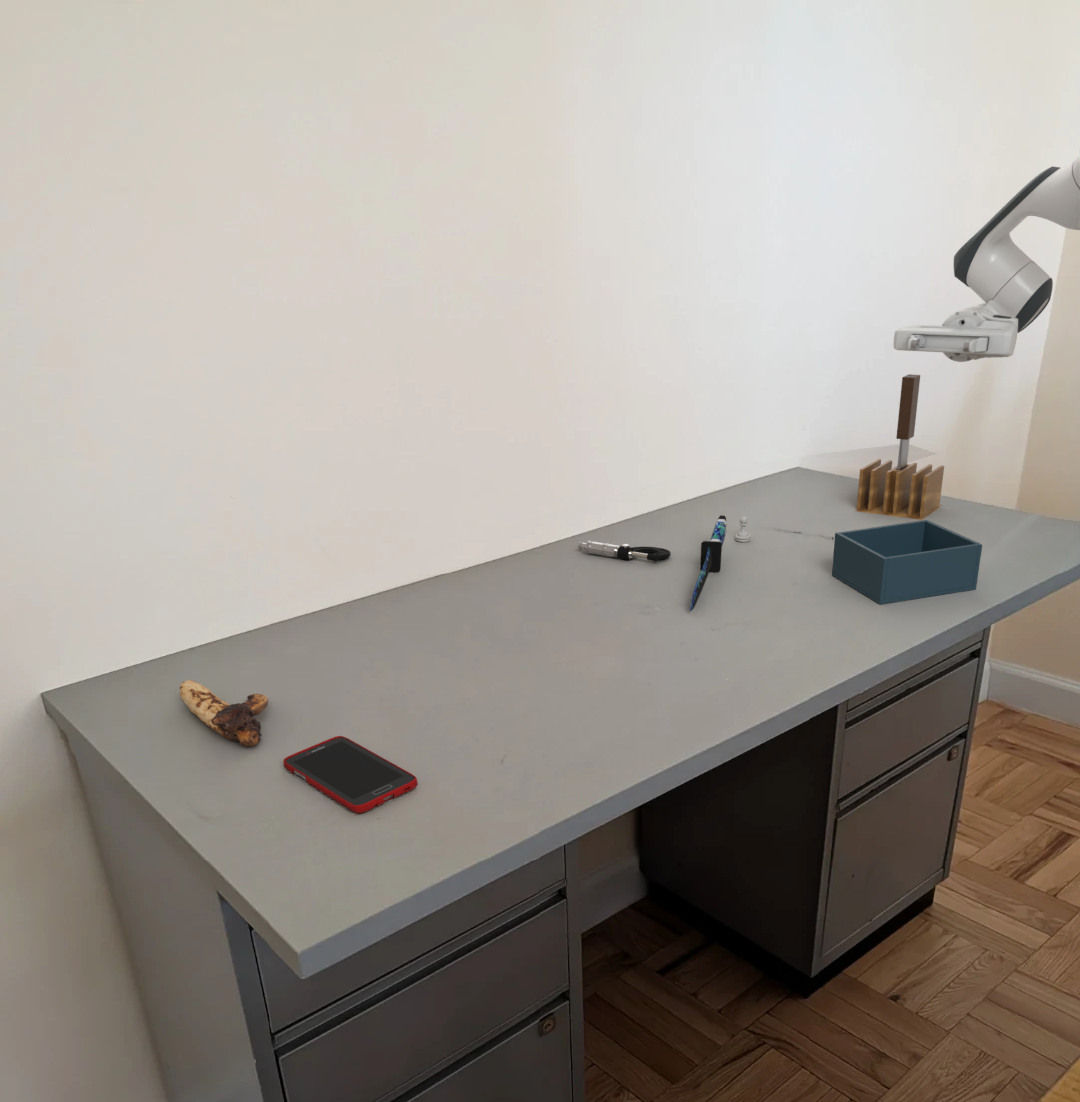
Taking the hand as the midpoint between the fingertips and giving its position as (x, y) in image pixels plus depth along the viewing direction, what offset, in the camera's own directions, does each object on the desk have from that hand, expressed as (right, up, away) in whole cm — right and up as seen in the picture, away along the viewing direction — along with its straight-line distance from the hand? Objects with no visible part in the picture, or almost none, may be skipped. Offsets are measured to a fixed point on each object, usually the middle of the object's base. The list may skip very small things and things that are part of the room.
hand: (939, 346), depth 177 cm
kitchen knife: (-6, -27, +3) cm, 28 cm away
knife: (-43, -43, -20) cm, 64 cm away
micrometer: (-54, -37, -8) cm, 66 cm away
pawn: (-34, -34, -4) cm, 49 cm away
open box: (-16, -44, -26) cm, 53 cm away
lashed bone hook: (-104, -64, -55) cm, 134 cm away
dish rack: (-6, -28, +4) cm, 29 cm away
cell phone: (-88, -70, -69) cm, 132 cm away
